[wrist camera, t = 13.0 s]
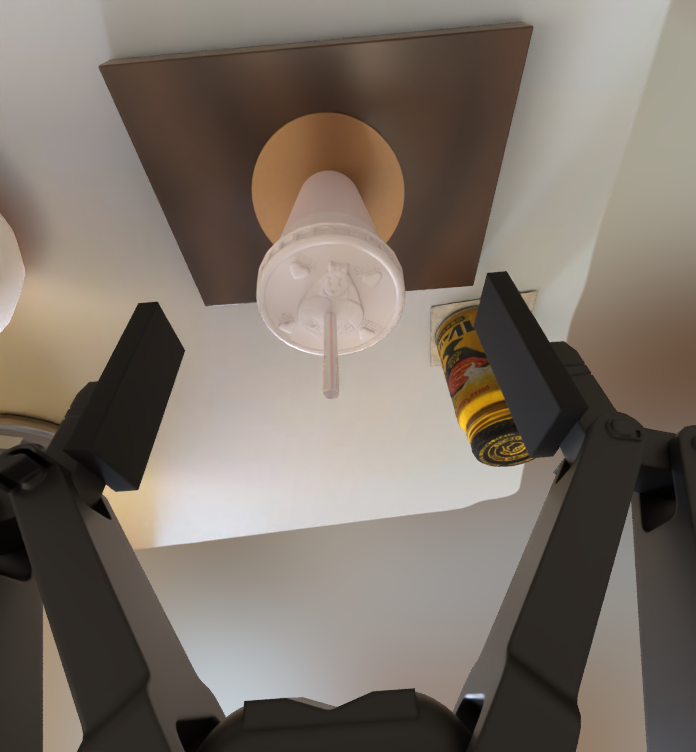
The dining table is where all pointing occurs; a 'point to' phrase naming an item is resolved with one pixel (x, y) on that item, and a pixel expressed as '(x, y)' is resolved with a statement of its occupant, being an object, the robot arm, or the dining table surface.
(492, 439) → the condiment
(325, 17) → the dining table surface
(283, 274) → the smoothie
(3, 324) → the cup
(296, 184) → the board
